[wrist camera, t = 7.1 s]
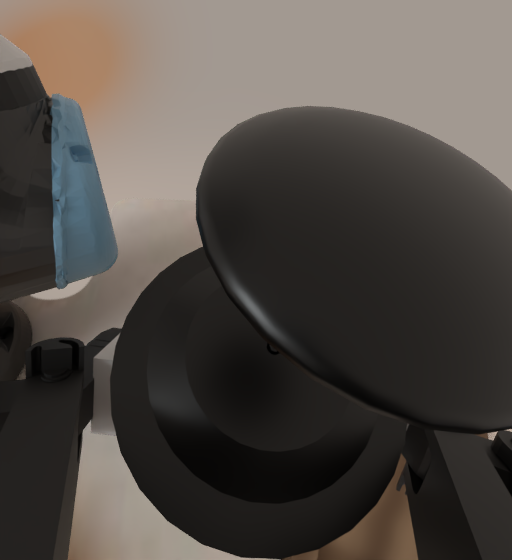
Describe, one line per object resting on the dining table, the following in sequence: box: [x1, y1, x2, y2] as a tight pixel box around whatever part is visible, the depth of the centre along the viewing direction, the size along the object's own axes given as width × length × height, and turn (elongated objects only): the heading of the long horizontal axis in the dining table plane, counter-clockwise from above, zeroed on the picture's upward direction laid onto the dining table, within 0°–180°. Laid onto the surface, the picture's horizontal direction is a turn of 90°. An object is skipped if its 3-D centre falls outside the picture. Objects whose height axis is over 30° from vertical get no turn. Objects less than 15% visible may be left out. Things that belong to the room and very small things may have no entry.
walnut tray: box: [281, 433, 488, 560], centre depth 25 cm, size 18×21×2 cm
